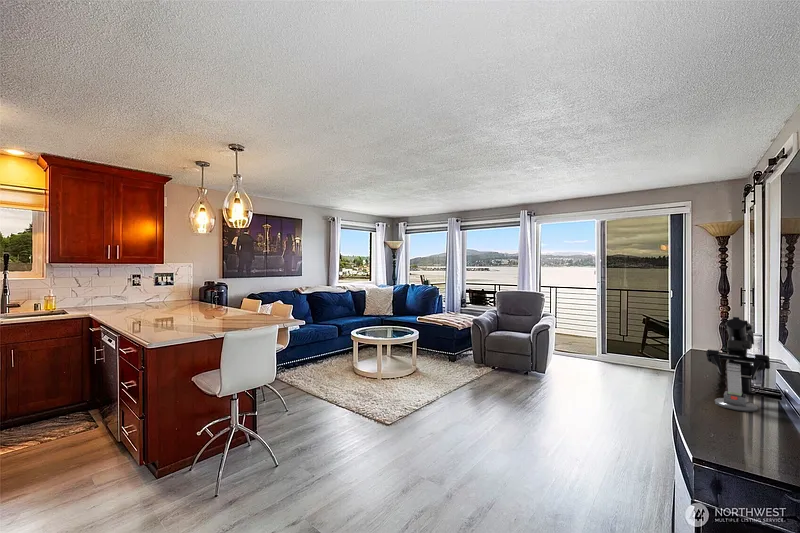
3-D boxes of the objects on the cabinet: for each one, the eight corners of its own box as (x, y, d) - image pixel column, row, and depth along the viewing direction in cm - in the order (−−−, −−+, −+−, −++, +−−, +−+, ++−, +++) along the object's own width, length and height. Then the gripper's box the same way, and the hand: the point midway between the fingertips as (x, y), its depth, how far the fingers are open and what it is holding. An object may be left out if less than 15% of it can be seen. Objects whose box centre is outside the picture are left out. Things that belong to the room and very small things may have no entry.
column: (729, 392, 141) (727, 362, 141) (742, 394, 138) (740, 364, 139) (727, 394, 138) (726, 364, 139) (741, 396, 136) (739, 366, 136)
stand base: (717, 399, 147) (716, 387, 147) (758, 406, 138) (758, 394, 138) (712, 406, 138) (712, 394, 139) (756, 414, 130) (756, 401, 130)
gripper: (705, 330, 155) (702, 360, 147) (768, 334, 141) (768, 368, 133) (709, 346, 160) (706, 376, 152) (769, 352, 146) (770, 385, 138)
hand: (736, 376), depth 144 cm, fingers open, 9 cm apart
